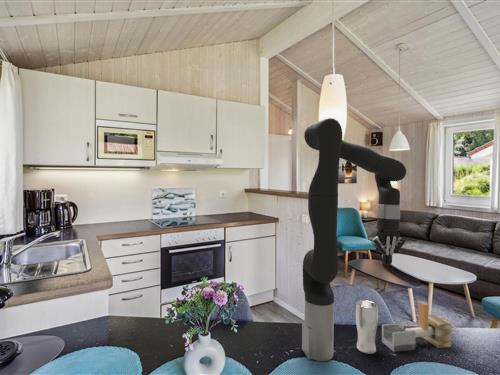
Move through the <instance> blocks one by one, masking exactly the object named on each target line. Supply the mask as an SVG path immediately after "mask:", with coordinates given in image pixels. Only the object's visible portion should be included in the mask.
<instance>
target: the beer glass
mask: <svg viewBox="0 0 500 375" xmlns="http://www.w3.org/2000/svg"><path fill="white" fill-rule="evenodd" d="M355 324H356V330H357V342H356V349H357V350H358V351H360V352H361V353H364V354H367V355H368V354H370V355H371V354H375V353H376V352H377V349H376V335H377V334H376V333H377V330H378V324H379V310H378V304H377V303H376V302H374V301H369V300H366V299H365V300H364V299H362V300H357V301H356V306H355Z"/></svg>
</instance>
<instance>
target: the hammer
mask: <svg viewBox="0 0 500 375" xmlns="http://www.w3.org/2000/svg"><path fill="white" fill-rule="evenodd" d="M417 305H418V307H417V310H418V311H417V316H418V317H417V326H418V327H417V326H416V327H405V328H404V331H415V332H416V338H422V337H425V336H435V327H433V326H428V315H429V304H428V303H426V302H425V301H423V300H421V301H418V303H417Z"/></svg>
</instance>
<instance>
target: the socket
mask: <svg viewBox="0 0 500 375" xmlns="http://www.w3.org/2000/svg"><path fill="white" fill-rule="evenodd" d="M428 326H433V327H435V336H425V337H421V338H422V339H423V340H425V341H427V342H428V343H430V344H432V345H433V346H434V347H436V348H438V349H440V348H441V349H442V348H451V347H452V322H450V321H448V320H445V319H444V318H442V317H440V316H438V315H437V314H435V313H434V314H428Z"/></svg>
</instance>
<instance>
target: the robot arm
mask: <svg viewBox="0 0 500 375" xmlns="http://www.w3.org/2000/svg"><path fill="white" fill-rule="evenodd" d="M303 135H304V136H303V138H304V140H305V143H306V145H307V146H308V147H309V148H311V150H316V151H318V164H317V166H316V167H317V168H316V169H315V173H314V174H313V177H312V179H311V182H310V184H309V188H308V196H307V199H308V201H307V203H308V204H307V208H308V209H307V211H308V217H309V220H310V224H311V225H310V226H311V228H312V233H313V249H311V250H308V251H307V252H306V254H305V255H304V258H303V260H302V288H303V292H304V320H302V321H301V322H302V323H301V350H302V351H303V352H302V353H304V354H305V356H306V358H307V359H308V360H313V361H316V362H327V361H330V360H331V359H333V358H334V330H335V329H334V325H335V324H334V323H335V320H334V319H335V312H334V311H335V294H334V291H333V289H332V287H331V286H332V285H331V282H333V281H334V280H335V279H336V277H337V275H338V273H339V256H338V242H337V241H338V240H337V237H338V236H337V235H338V210H339V209H338V208H339V205H338V204H339V170H340V161H341V160H344V161H347V162H348V163H351V164H353V165H355V166H356V167H359V168H360V169H363V170H364V171H367V172H368V173H372V174H374V181H375V183H376V188H377V191H378V204H377V205H378V206H377V216H376V217H377V218H376V229H377V232H376V236H375V237H373V238H370V242H371V244H372V245H373V246H374V248H375V250H376V251H377V252H378V253H380V254H382V263H383V265H385V266H391V265H392V263H393V255H394V254H398V253H399V251H400V250H401V248H402V247H403V246H404V244H405V243H406V239H403V238H402V237H400V236H401V235H400V234H401V233H400V230H401V192H400V189H398V188H395V187H393V186H392V184H391V183H392V182H400V181H402V180H403V179H405V177H406V175H407V169H406V166H405V165H404V163H403V162H401V161H400V160H397V159H395V158H392V157H389V156H385V155H382V154H380V153H378V152H377V151H374V150H373V149H372V148H371V149H370V148H369V147H367V146H364V145H361V144H357V143H353V142H349V141H347V140H343V130H342V126H341V124H340V122H339V121H338V120H337V119H336V118H332V117H328V118H324V119H322V120H319V121H316V122H315V121H314V122H313V123H311V124H310V125H308V126H307V127H306V129H305V130H304V134H303ZM340 159H341V160H340Z"/></svg>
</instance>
